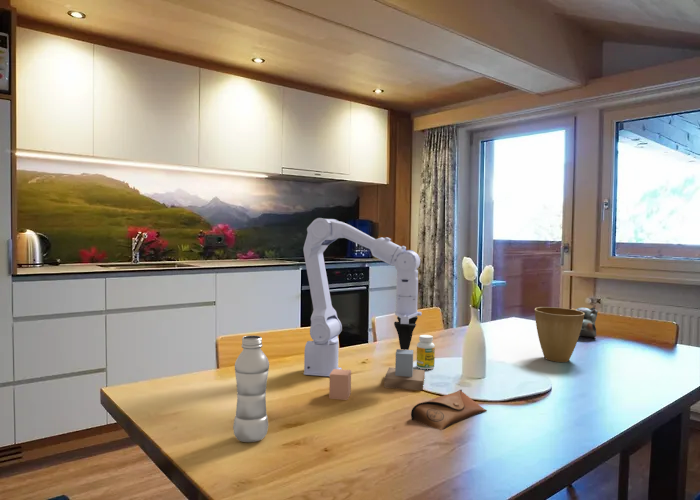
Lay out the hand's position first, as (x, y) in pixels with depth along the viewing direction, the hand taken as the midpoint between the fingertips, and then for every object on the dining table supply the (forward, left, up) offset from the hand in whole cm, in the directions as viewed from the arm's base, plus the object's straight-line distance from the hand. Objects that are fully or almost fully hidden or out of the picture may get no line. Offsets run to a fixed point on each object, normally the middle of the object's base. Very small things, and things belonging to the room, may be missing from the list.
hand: (405, 345), depth 130 cm
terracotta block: (-15, -14, -10) cm, 23 cm away
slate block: (0, 0, -8) cm, 8 cm away
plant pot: (+47, +36, -10) cm, 60 cm away
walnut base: (0, 0, -11) cm, 11 cm away
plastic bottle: (-27, -42, -10) cm, 51 cm away
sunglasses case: (+12, -20, -11) cm, 26 cm away
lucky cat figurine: (+64, +76, -10) cm, 99 cm away
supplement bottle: (+5, +16, -10) cm, 20 cm away
